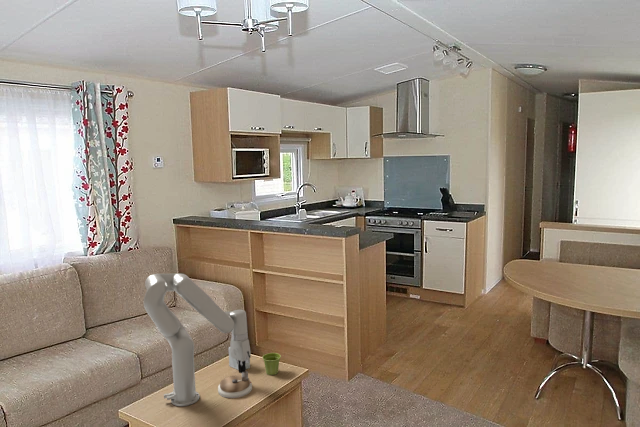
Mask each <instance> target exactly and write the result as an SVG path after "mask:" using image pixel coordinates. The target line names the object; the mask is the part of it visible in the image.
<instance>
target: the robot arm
mask: <svg viewBox="0 0 640 427" xmlns="http://www.w3.org/2000/svg"><path fill="white" fill-rule="evenodd" d="M144 286H145V287H144V288H145V289H146V291H145V294H144V296H143V308H144V310H145V312H146V313H147V315H148V316H149V318H150V319H151V321H152V322H153V323H154V325H155V327H156V328H157V330H158V332H159V333H160V334H162V336H163V337H164V338H165V340H166V341H167V342H168V344H169V346H170V348H171V365H172V366H171V367H172V380H173V381H172V382H173V389H172V391H170V393H163V399H166V401H169V400H170V402H171V404H172V405H174V406H175V407H187V406H191V405H193V404H195V403H197V402H198V401H199V399H200V393H199V392H198V391H196V390H197V389H196V374H195V373H196V372H195V360H194V358H195V357H194V356H195V342H194V340H193V337H192V336H191V334H190V333H189V332H188V330H187V329H186V328H185V326H184V325H183V324H182V322H181V320H180V319H179V318H178V316H177V315H176V314H175V312H173V311H172V310H171V309H170V308H169V306H168V305H167V303H166V302H165V297H166V294H167V292H175V293H176V294H177V295H178V296H179V297H180V298H182V299H183V300H184V301H185V302H186V303H187V304H188V305H190V306H191V307H192V308H193V309H194V310H195V311H196V312H198V314H200V315H201V316H203V317H204V318H205V319H206V320H207V321H208V322H209V323H210V324H212V325H213V326H214V327H215V328H217V330H218V331H219V332H221V333H223V334H229V333H231V338H230V343H229V344H230V346H229V347H230V353H231V357H232V358H234V359H236V361H237V364H238V370H237V371H238V373H240V374H242V372H243V371H247V369H246V366H245V364H246V363H249V362H250V363H251V357H252V356H251V355H252V354H251V353H252V352H251V347H250V340H249V337H248V321H247V319H248V318H247V312H246V310H244V309H234V310H230V311H229V310H228V311H224V310H223V309H222V308H221V307H220V306H219V305H218V304H217V303H216V301H214V300H213V298H212V297H210V295H209V294H208V293H206V291H204V290H203V289H202V288H201V287H200V286H199V285H198V284H196V283H195V282H194V281H193V280H192V279H191V278H190V277H189V276H188V275H187V274H185V273H175V272H174V273H153V274H150V275H149V276H147V278H146V279H145V282H144ZM249 358H250V360H249Z"/></svg>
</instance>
